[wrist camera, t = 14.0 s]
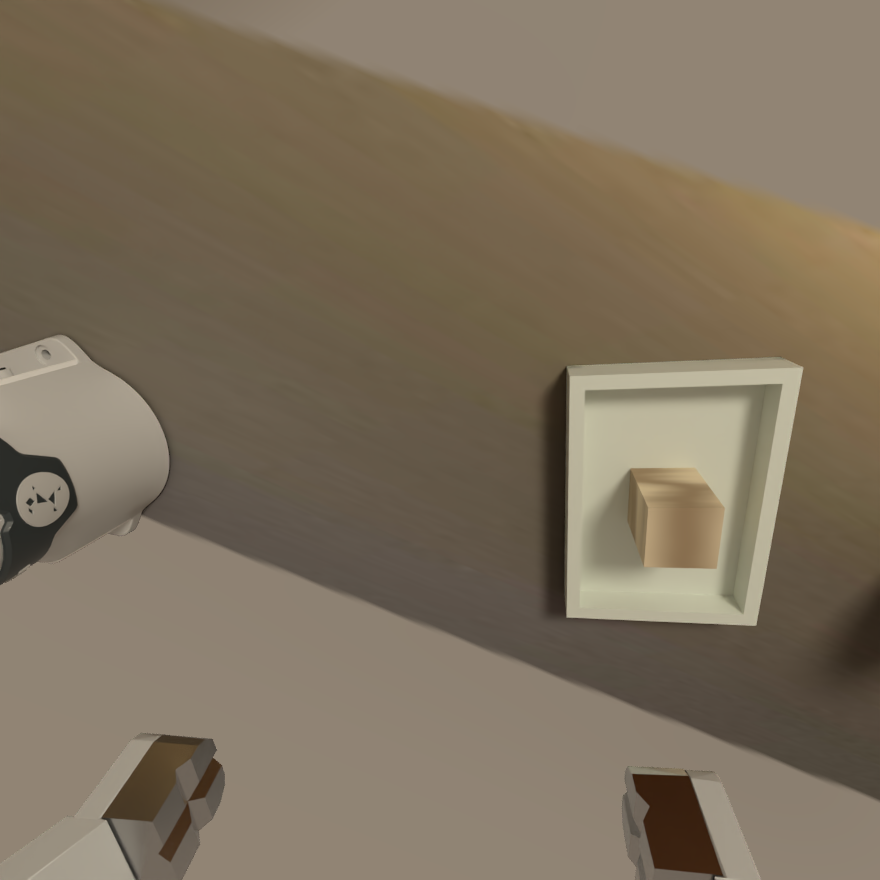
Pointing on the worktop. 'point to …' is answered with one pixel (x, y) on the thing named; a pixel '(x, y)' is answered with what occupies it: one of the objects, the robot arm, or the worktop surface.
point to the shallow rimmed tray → (674, 446)
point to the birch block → (674, 518)
